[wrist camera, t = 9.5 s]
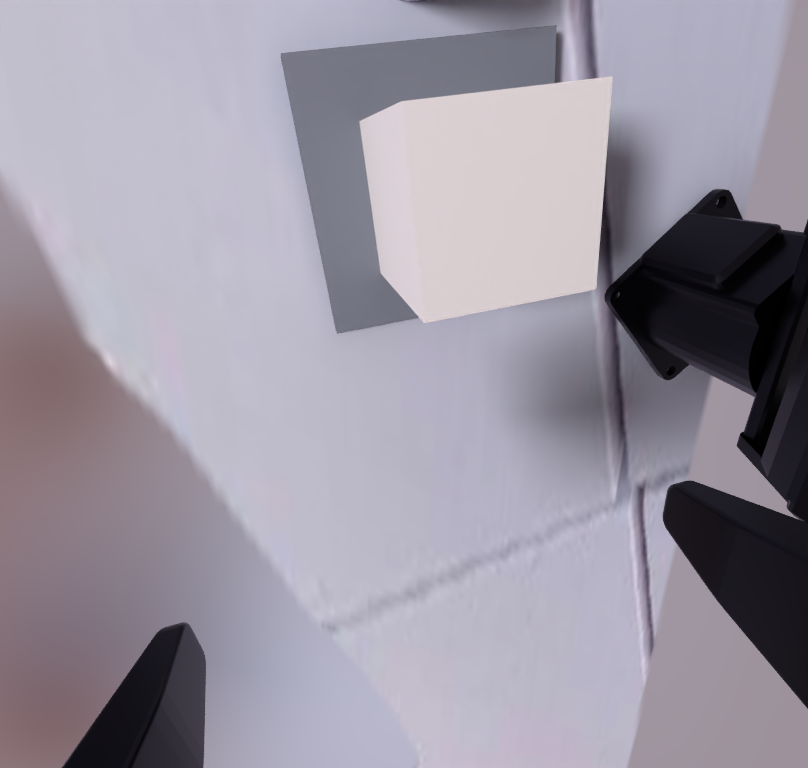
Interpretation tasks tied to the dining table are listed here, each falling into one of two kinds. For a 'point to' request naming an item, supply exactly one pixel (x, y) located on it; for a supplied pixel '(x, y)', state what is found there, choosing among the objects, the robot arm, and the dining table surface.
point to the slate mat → (343, 150)
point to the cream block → (489, 195)
